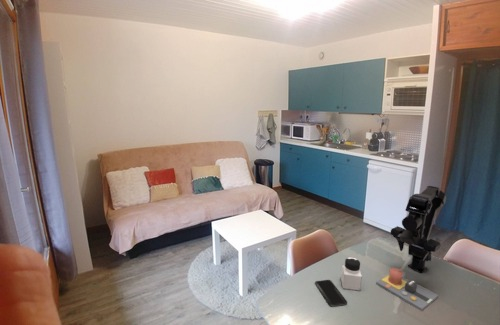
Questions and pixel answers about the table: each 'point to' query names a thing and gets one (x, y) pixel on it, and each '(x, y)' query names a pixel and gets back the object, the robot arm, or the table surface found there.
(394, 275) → the cap
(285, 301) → the table surface
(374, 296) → the table surface
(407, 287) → the breaker
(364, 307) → the table surface
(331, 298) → the phone
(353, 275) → the medicine bottle
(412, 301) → the panel
